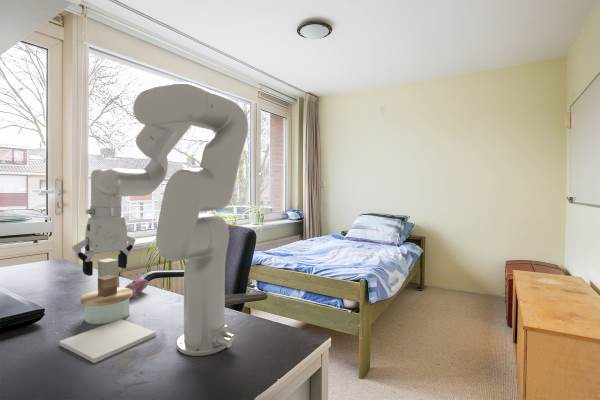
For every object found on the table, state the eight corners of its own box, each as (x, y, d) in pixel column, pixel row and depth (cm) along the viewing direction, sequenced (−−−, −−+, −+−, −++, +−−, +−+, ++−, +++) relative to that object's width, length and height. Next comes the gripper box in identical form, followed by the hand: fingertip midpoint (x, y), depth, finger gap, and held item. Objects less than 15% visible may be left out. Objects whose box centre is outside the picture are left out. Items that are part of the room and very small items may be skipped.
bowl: (137, 313, 96) (136, 295, 95) (98, 327, 86) (98, 307, 86) (115, 306, 101) (115, 289, 101) (77, 318, 91) (76, 299, 91)
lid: (142, 295, 96) (142, 275, 96) (96, 309, 84) (96, 286, 84) (116, 288, 102) (116, 269, 102) (71, 300, 91) (70, 279, 91)
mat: (156, 335, 82) (156, 331, 82) (94, 363, 69) (94, 358, 69) (121, 322, 89) (121, 319, 89) (59, 345, 76) (59, 341, 76)
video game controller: (125, 305, 107) (133, 287, 106) (114, 298, 107) (123, 280, 107) (145, 295, 116) (153, 279, 115) (135, 289, 117) (143, 272, 116)
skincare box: (119, 294, 113) (119, 259, 112) (106, 297, 109) (106, 262, 108) (110, 290, 116) (110, 257, 116) (97, 294, 112) (96, 259, 112)
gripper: (80, 215, 83) (80, 280, 84) (142, 211, 98) (141, 267, 99) (65, 213, 87) (65, 275, 88) (127, 210, 102) (126, 263, 103)
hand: (105, 271), depth 93 cm, fingers open, 9 cm apart
